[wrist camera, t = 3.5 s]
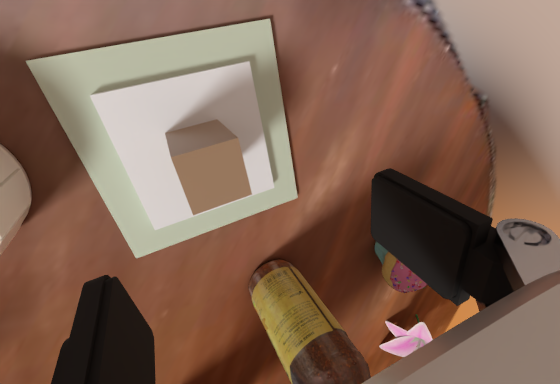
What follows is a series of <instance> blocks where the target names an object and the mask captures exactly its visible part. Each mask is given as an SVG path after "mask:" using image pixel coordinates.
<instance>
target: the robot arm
mask: <svg viewBox="0 0 560 384" xmlns="http://www.w3.org/2000/svg"><path fill="white" fill-rule="evenodd" d="M492 220H493V219H492V218H490V217H488V216H486V215H484V214H482V213H480V212H478V211H476V210H474V209H472V208H470V207H468V206H466V205H464V204H462V203H460V202H458V201H456V200H454V199H452V198H450V197H448V196H446V195H444V194H442V193H440V192H438V191H436V190H434V189H432V188H430V187H428V186H426V185H424V184H422V183H420V182H418V181H416V180H414V179H412V178H409V177H407V176H405V175H403V174H401V173H399V172H397V171H395V170H393V169H386V170H383V171H381V172H378V173H376V174H375V176H374V178H373V179H372V194H371V234H372V237H373V238H374V240H375V241H377V242H378V243H379V244H380V245H381V246H382V247H384V248H385V249H386V250H387V251H388V252H390V253H391V254H392V255H393V256H394V257H396V258H397V259H398V260H399V261H400V262H401V263H403V264H404V265H405V266H406V267H407V268H409V269H410V270H411V271H412V272H413V273H415V274H416V275H417V276H418V277H419V278H420V279H422V280H423V281H424V282H425V283H426V284H428V285H429V286H430V287H431V288H432V289H433V290H435V291H436V292H437V293H438V294H439V295H441V296H442V297H443V298H445V299H450V300H451V301H452V302H453V303H454V304H456V305H457V306H458V305H460V304H462V303H463V302H465V301H467V300H468V299H469V297H470V295H471V296H472V297H473V298H475V299H476V302H477V305H478V308H479V311H480V312H479V313H477V314H475V315H473V316H472V317H470V318H468V319H467V320H465V321H463V322H462V323H460V324H458V325H457V326H455V327H454V328H452V329H450V330H449V331H447V332H445V333H444V334H442V335H440V336H439V337H437V338H435V339H434V340H432V341H430V342H429V343H427V344H425V345H424V346H422V347H420V348H419V349H417V350H416V351H414V352H412V353H411V354H409V355H407V356H406V357H404V358H402V359H401V360H399V361H397V362H396V363H394V364H393V365H391V366H389V367H388V368H386V369H384V370H383V371H381V372H379V373H378V374H376V375H375V376H373V377H371V378H370V379H368V380H366V381H365V382H363V383H361V384H560V239H559V238H558V236H557V235H556V234H555V233H554V232H553V231H552V230H550V229H549V228H547V227H545V226H544V225H541V224H539V223H536V222H533V221H529V220H524V219H506V220H502V221H501V222H499V223H498V225H497V227H496V229H495V228H494V227H492V226H491V223H492ZM51 384H155V353H154V336H153V333H152V330H151V328H150V327H149V325H148V324H147V322H146V321H145V319H144V318H143V316H142V314H141V313H140V311H139V310H138V308H137V307H136V305H135V304H134V302H133V301H132V299H131V298H130V296H129V294H128V293H127V291H126V290H125V288H124V287H123V285H122V284H121V282H120V281H119V279H118V278H117V277H112V278H110V277H109V276H108V275H104V276H101V277H99V278H96V279H93V280H91V281H88V282H86V283H84V285H83V288H82V292H81V296H80V299H79V303H78V307H77V311H76V315H75V318H74V322H73V326H72V330H71V334H70V337H69V338H68V339H66V341H65V342H64V343H63V345H62V347H61V350H60V354H59V357H58V361H57V364H56V368H55V371H54V375H53V378H52V382H51Z"/></svg>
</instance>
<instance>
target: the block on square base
mask: <svg viewBox="0 0 560 384" xmlns="http://www.w3.org/2000/svg"><path fill="white" fill-rule="evenodd" d="M90 98H91V100H92V102H93V104H94V106H95V108H96V110H97V112H98V114H99V116H100V118H101V120H102V122H103V124H104V126H105V129H106V131H107V133H108V135H109V137H110V139H111V141H112V143H113V145H114V147H115V149H116V151H117V153H118V155H119V157H120V160H121V162H122V164H123V166H124V168H125V170H126V172H127V174H128V176H129V178H130V180H131V182H132V184H133V186H134V188H135V190H136V193H137V195H138V197H139V199H140V201H141V203H142V205H143V207H144V209H145V211H146V213H147V215H148V217H149V219H150V221H151V224H152V226H153V228H154V230H158V229H160V228H163V227H166V226H169V225H172V224H174V223H177V222H180V221H183V220H186V219H188V218H191V217H194V216H197V215H200V214H202V213H205V212H208V211H211V210H214V209H216V208H219V207H222V206H225V205H228V204H230V203H233V202H236V201H239V200H242V199H244V198H247V197H250V196H253V195H256V194H258V193H261V192H264V191H267V190H270V189H272V188H274V183H273V178H272V173H271V168H270V163H269V157H268V152H267V147H266V142H265V137H264V132H263V127H262V122H261V117H260V112H259V107H258V102H257V97H256V92H255V87H254V82H253V77H252V72H251V67H250V62H249V61H245V62H240V63H235V64H230V65H226V66H221V67H216V68H212V69H207V70H202V71H198V72H193V73H188V74H184V75H179V76H174V77H170V78H165V79H160V80H156V81H151V82H146V83H142V84H137V85H132V86H128V87H123V88H118V89H114V90H109V91H104V92H100V93H95V94H91V95H90Z"/></svg>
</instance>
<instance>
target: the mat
mask: <svg viewBox="0 0 560 384" xmlns="http://www.w3.org/2000/svg"><path fill="white" fill-rule="evenodd" d="M245 61H249V62H250V67H251V72H252V77H253V82H254V87H255V92H256V97H257V102H258V107H259V112H260V117H261V122H262V127H263V132H264V137H265V142H266V147H267V152H268V157H269V163H270V168H271V173H272V178H273V183H274V188H272V189H270V190H267V191H264V192H261V193H258V194H256V195H253V196H250V197H247V198H244V199H242V200H239V201H236V202H233V203H230V204H228V205H225V206H222V207H219V208H216V209H214V210H211V211H208V212H205V213H202V214H200V215H197V216H194V217H191V218H188V219H186V220H183V221H180V222H177V223H174V224H172V225H169V226H166V227H163V228H160V229H158V230H154V228H153V226H152V224H151V221H150V219H149V217H148V215H147V213H146V211H145V209H144V207H143V205H142V203H141V201H140V199H139V197H138V195H137V193H136V190H135V188H134V186H133V184H132V182H131V180H130V178H129V176H128V174H127V172H126V170H125V168H124V166H123V164H122V162H121V160H120V157H119V155H118V153H117V151H116V149H115V147H114V145H113V143H112V141H111V139H110V137H109V135H108V133H107V131H106V129H105V126H104V124H103V122H102V120H101V118H100V116H99V114H98V112H97V110H96V108H95V106H94V104H93V102H92V100H91V98H90V95H91V94H95V93H100V92H104V91H109V90H114V89H118V88H123V87H128V86H132V85H137V84H142V83H146V82H151V81H156V80H160V79H165V78H170V77H174V76H179V75H184V74H188V73H193V72H198V71H202V70H207V69H212V68H216V67H221V66H226V65H230V64H235V63H240V62H245ZM26 63H27V65H28V67H29V68H30V70H31V72H32V74H33V75H34V77H35V79H36V81H37V83H38V84H39V86H40V88H41V90H42V92H43V93H44V95H45V97H46V99H47V100H48V102H49V104H50V106H51V108H52V109H53V111H54V113H55V115H56V116H57V118H58V120H59V122H60V124H61V125H62V127H63V129H64V131H65V132H66V134H67V136H68V138H69V140H70V141H71V143H72V145H73V147H74V149H75V150H76V152H77V154H78V156H79V157H80V159H81V161H82V163H83V165H84V166H85V168H86V170H87V172H88V173H89V175H90V177H91V179H92V181H93V182H94V184H95V186H96V188H97V189H98V191H99V193H100V195H101V197H102V198H103V200H104V202H105V204H106V206H107V207H108V209H109V211H110V213H111V214H112V216H113V218H114V220H115V222H116V223H117V225H118V227H119V229H120V230H121V232H122V234H123V236H124V238H125V239H126V241H127V243H128V245H129V247H130V248H131V250H132V252H133V254H134V255H135V257H136V259H137V258H139V257H142V256H144V255H147V254H150V253H152V252H155V251H158V250H160V249H163V248H166V247H168V246H171V245H174V244H176V243H179V242H182V241H184V240H187V239H190V238H192V237H195V236H198V235H200V234H203V233H206V232H208V231H211V230H213V229H216V228H219V227H221V226H224V225H227V224H229V223H232V222H235V221H237V220H240V219H243V218H245V217H248V216H251V215H253V214H256V213H259V212H261V211H264V210H267V209H269V208H272V207H274V206H277V205H280V204H282V203H285V202H288V201H290V200H293V199H296V198H298V197H297V190H296V184H295V177H294V171H293V164H292V158H291V151H290V145H289V138H288V132H287V125H286V119H285V113H284V106H283V100H282V93H281V87H280V80H279V74H278V67H277V61H276V54H275V48H274V41H273V35H272V28H271V22H270V19H264V20H259V21H253V22H247V23H241V24H235V25H230V26H224V27H218V28H212V29H207V30H201V31H195V32H189V33H184V34H178V35H172V36H166V37H161V38H155V39H149V40H143V41H138V42H132V43H126V44H120V45H115V46H109V47H103V48H97V49H91V50H86V51H80V52H74V53H68V54H63V55H57V56H51V57H45V58H40V59H34V60H28V61H26Z"/></svg>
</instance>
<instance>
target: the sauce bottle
mask: <svg viewBox="0 0 560 384" xmlns="http://www.w3.org/2000/svg"><path fill="white" fill-rule="evenodd" d="M249 291H250V296H251V298H252V303H253V305H254V307H255V310H256V311H257V313H258V315H259V318H260V320H261V322H262V324H263V326H264V328H265V330H266V332H267V335H268V336H269V339H270V341H271V343H272V345H273V347H274V348H275V350H276V352H277V355H278V357H279V359H280V361H281V363H282V365H283V367H284V369H285V371H286V373H287V376H288V377H289V379H290V381H291V383H292V384H361V383H363V382H365V381H366V380H368V379H370V378H371V376H370V371H369V367H368V364H367V363H366V361H365V360H364V358H363V356H362V355H361V353H360V352H359V351H358V350H357V349H356V347H355V346H354V345H353V343H352V342H351V341H350V339H349V338H348V336H347V334H346V332H345V331H344V329H343V328H342V327H341V325H340V324H339V323H338V321H337V320H336V319H335V318H334V316H333V315H332V314H331V312H330V311H329V310H328V309H327V307H326V306H325V305H324V303H323V302H322V301H321V299H320V298H319V297H318V295H317V294H316V293H315V291H314V290H313V289H312V287H311V286H310V285H309V284H308V282H307V281H306V280H305V278H304V277H303V276H302V274H301V273H300V272H299V271H298V270H297V269H296V267H294V266H293V265H292V264H291V263H289V262H287V261H284V260H281V259H280V260H273V261H271V262H267V263H265V264H264V265H262V266H261V267H260V268H259V269H257V270H256V271H255V273H254V274H253V275H252V278H251V279H250V282H249Z"/></svg>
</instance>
